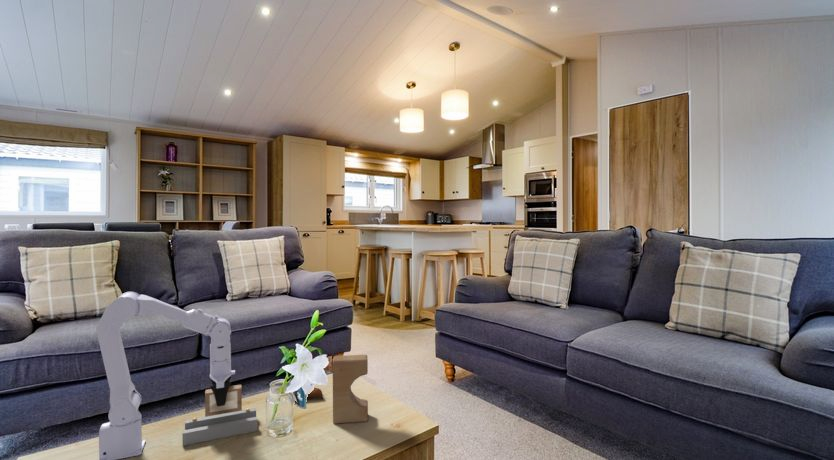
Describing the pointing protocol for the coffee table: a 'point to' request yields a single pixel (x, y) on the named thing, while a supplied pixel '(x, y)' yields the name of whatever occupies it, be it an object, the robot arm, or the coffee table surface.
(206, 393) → the walnut frame
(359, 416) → the decorative block
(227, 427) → the picture ledge
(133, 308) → the robot arm
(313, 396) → the sunglasses case
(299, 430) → the coffee table surface
